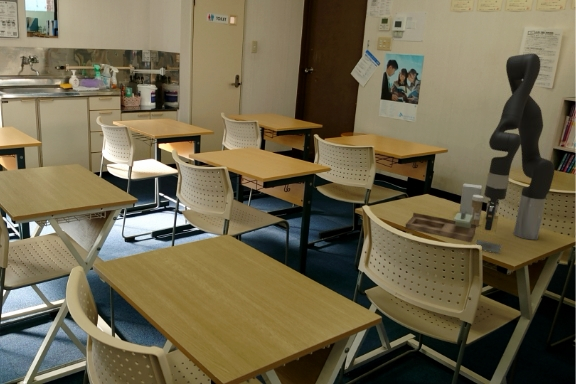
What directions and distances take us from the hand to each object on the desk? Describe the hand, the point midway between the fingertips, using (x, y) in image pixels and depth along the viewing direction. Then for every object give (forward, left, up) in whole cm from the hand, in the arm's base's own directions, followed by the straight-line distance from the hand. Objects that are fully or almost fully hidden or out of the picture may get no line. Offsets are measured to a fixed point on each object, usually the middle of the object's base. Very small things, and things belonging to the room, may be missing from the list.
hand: (488, 227), depth 200 cm
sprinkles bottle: (+8, -25, -8) cm, 27 cm away
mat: (0, 0, -8) cm, 8 cm away
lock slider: (+10, -8, -5) cm, 14 cm away
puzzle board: (+19, -6, -8) cm, 21 cm away
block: (0, 0, -1) cm, 1 cm away
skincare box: (+12, -38, -8) cm, 40 cm away
